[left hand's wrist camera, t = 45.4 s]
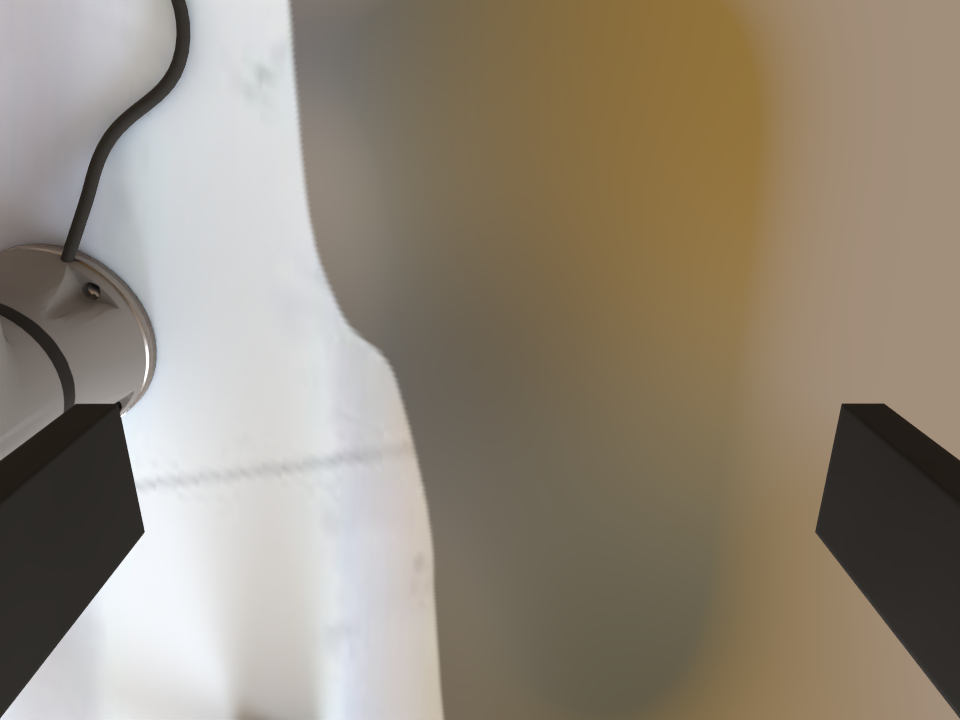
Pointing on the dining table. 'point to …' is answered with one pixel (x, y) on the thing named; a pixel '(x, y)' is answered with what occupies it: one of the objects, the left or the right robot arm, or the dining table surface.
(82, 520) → the left robot arm
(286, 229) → the dining table surface
